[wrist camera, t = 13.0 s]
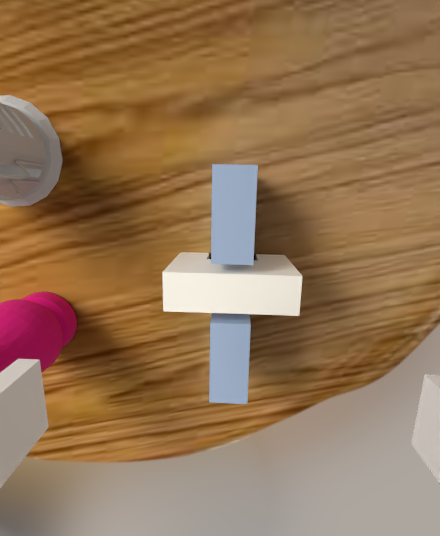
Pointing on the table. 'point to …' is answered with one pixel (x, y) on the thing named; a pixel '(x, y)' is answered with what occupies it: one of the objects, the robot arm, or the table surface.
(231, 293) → the white notched block
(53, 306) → the pepper mill
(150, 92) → the table surface
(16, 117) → the french press
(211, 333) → the blue batten
